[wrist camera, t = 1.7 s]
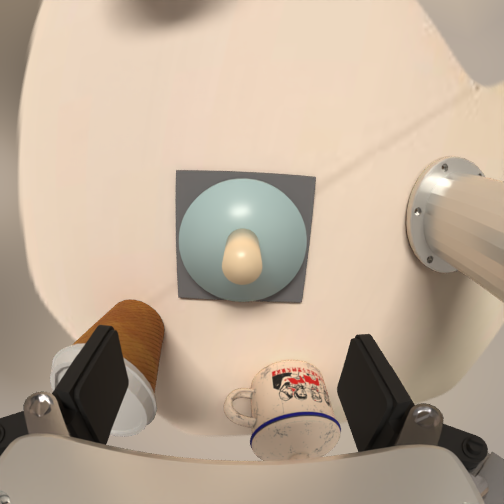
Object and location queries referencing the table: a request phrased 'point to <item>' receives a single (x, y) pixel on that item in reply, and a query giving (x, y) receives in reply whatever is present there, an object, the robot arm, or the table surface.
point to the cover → (242, 240)
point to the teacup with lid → (287, 412)
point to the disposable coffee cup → (127, 361)
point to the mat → (290, 185)
